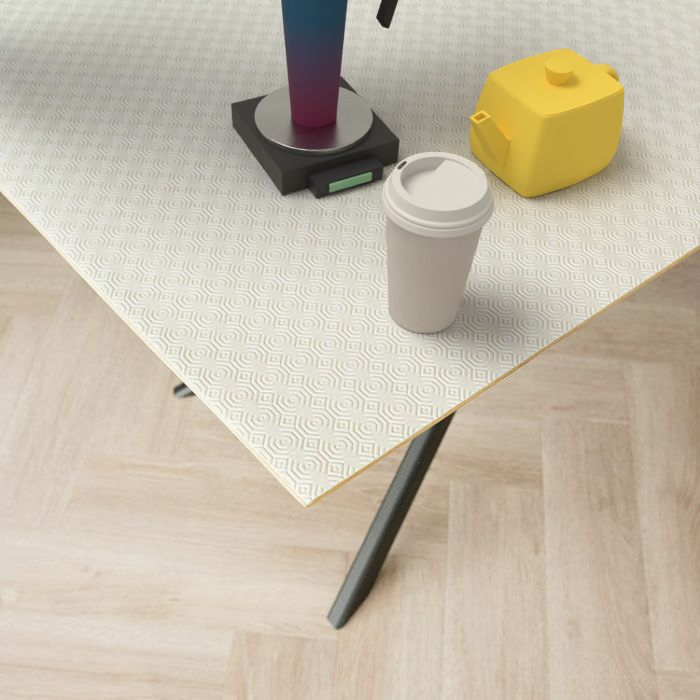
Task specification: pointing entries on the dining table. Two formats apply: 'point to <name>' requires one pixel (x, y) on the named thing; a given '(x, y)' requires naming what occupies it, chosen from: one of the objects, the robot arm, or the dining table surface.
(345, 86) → the scale
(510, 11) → the dining table surface
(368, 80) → the dining table surface
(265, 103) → the scale pan
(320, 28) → the cup
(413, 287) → the coffee cup
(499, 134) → the teapot
